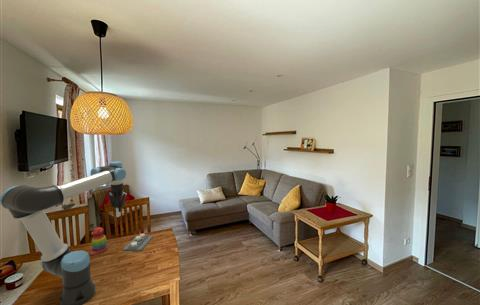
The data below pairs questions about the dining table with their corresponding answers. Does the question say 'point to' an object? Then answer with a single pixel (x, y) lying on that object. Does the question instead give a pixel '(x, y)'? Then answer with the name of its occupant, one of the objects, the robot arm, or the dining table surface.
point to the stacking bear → (98, 241)
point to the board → (138, 244)
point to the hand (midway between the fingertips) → (118, 216)
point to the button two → (138, 238)
